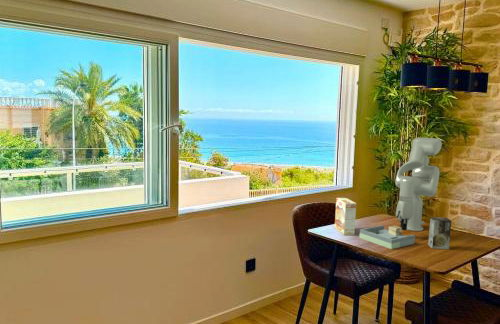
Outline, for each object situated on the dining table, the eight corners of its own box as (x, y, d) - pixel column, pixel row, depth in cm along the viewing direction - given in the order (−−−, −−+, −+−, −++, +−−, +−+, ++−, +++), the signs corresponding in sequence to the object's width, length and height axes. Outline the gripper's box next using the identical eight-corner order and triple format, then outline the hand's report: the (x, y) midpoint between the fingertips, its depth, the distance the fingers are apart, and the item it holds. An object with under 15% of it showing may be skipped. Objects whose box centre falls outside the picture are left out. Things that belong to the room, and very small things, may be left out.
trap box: (382, 233, 239) (382, 225, 239) (414, 243, 221) (415, 235, 220) (359, 237, 229) (360, 229, 228) (391, 249, 210) (391, 240, 210)
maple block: (393, 232, 232) (394, 225, 231) (401, 234, 228) (401, 227, 227) (388, 233, 229) (388, 226, 229) (395, 235, 225) (396, 228, 224)
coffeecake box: (334, 228, 247) (335, 197, 244) (344, 228, 248) (346, 197, 246) (343, 235, 232) (345, 203, 230) (354, 235, 233) (356, 203, 231)
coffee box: (444, 245, 219) (447, 217, 217) (449, 249, 213) (452, 220, 211) (427, 244, 220) (430, 216, 218) (431, 248, 214) (434, 219, 212)
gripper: (408, 197, 237) (405, 226, 239) (392, 198, 229) (389, 229, 231) (419, 199, 231) (416, 229, 233) (403, 201, 223) (400, 232, 225)
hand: (403, 229), depth 232 cm, fingers closed
